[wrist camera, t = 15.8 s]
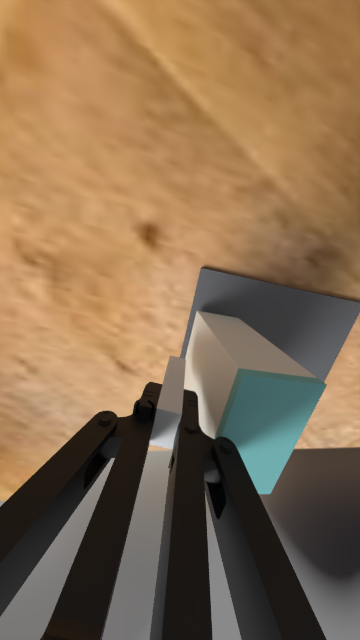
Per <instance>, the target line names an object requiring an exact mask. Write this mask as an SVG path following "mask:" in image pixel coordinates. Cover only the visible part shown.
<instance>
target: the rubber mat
mask: <svg viewBox="0 0 360 640" xmlns="http://www.w3.org/2000/svg"><path fill="white" fill-rule="evenodd" d="M197 311H202V312H208V313H213V314H219V315H225V316H230V317H236V318H239V319H240V320H242V321H243V322H244V323H246V324H247V325H248V326H250V327H251V328H252V329H254V330H255V331H256V332H258V333H259V334H260V335H262V336H263V337H264V338H265V339H267V340H268V341H269V342H271V343H272V344H273V345H275V346H276V347H277V348H279V349H280V350H281V351H283V352H284V353H285V354H287V355H288V356H289V357H290V358H292V359H293V360H294V361H296V362H297V363H298V364H300V365H301V366H302V367H304V368H305V369H306V370H308V371H309V372H310V373H312V374H313V375H314V376H315V377H317V378H318V379H319V380H321V381H322V382H323V383H324V381H325V379H326V377H327V375H328V373H329V371H330V369H331V367H332V365H333V363H334V361H335V359H336V357H337V356H338V354H339V352H340V350H341V348H342V346H343V344H344V342H345V340H346V338H347V336H348V334H349V332H350V330H351V328H352V326H353V324H354V322H355V320H356V318H357V316H358V314H359V313H360V303H359V302H354V301H350V300H345V299H341V298H336V297H331V296H327V295H322V294H318V293H313V292H309V291H304V290H300V289H295V288H290V287H286V286H281V285H277V284H272V283H268V282H263V281H259V280H254V279H249V278H245V277H240V276H236V275H231V274H227V273H222V272H218V271H213V270H208V269H204V268H201V271H200V275H199V279H198V283H197V288H196V292H195V296H194V300H193V305H192V309H191V313H190V317H189V322H188V326H187V330H186V334H185V339H184V343H183V347H182V352H181V356H180V358H183V359H185V357H186V353H187V349H188V345H189V341H190V336H191V332H192V328H193V324H194V320H195V316H196V312H197Z"/></svg>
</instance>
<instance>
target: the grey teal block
mask: <svg viewBox="0 0 360 640" xmlns="http://www.w3.org/2000/svg"><path fill="white" fill-rule="evenodd" d="M185 359H186V366H185V379H184V389H186V390H190V391H195V392H196V394H197V396H198V410H199V425H200V427H201V430H202V431H203V432H204V433H205V434H206V435H208V436H209V437H211V438H213V439H216V438H217V437H220V436H222V437H226V438H228V439H230V440H231V441H232V442H233V443H234V444H235V446H236V447H237V449H238V451H239V454H240V456H241V458H242V460H243V462H244V464H245V466H246V469H247V471H248V473H249V475H250V477H251V479H252V481H253V484H254V486H255V488H256V490H257V492H258V494H270V493H271V491H272V489H273V487H274V485H275V483H276V482H277V480H278V477H279V476H280V474H281V472H282V470H283V468H284V466H285V464H286V462H287V460H288V459H289V456H290V455H291V452H292V451H293V449H294V447H295V445H296V443H297V441H298V439H299V437H300V435H301V434H302V432H303V430H304V428H305V426H306V424H307V422H308V420H309V418H310V416H311V414H312V412H313V410H314V409H315V407H316V405H317V403H318V401H319V399H320V397H321V395H322V393H323V391H324V389H325V387H326V384H325V383H323V382H322V381H321V380H319V379H318V378H317V377H315V376H314V375H313V374H312V373H310V372H309V371H308V370H306V369H305V368H304V367H302V366H301V365H300V364H298V363H297V362H296V361H294V360H293V359H292V358H290V357H289V356H288V355H287V354H285V353H284V352H283V351H281V350H280V349H279V348H277V347H276V346H275V345H273V344H272V343H271V342H269V341H268V340H267V339H265V338H264V337H263V336H262V335H260V334H259V333H258V332H256V331H255V330H254V329H252V328H251V327H250V326H248V325H247V324H246V323H244V322H243V321H242V320H240V319H239V318H236V317H230V316H225V315H219V314H213V313H208V312H202V311H197V312H196V316H195V320H194V324H193V328H192V332H191V336H190V341H189V345H188V349H187V353H186V357H185ZM205 494H206V493H205Z"/></svg>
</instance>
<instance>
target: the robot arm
mask: <svg viewBox="0 0 360 640" xmlns="http://www.w3.org/2000/svg"><path fill="white" fill-rule="evenodd" d="M185 366H186V359H183V358H179V357H174V356H170V358H169V361H168V365H167V369H166V373H165V377H164V381H163V385H162V384H158V383H154V382H149V383H148V384H147V385H146V386H145V389H144V391H143V394H142V396H141V399H139V400H137V401H136V402H135V404H134V409H133V414H132V415H130V416H127V417H117V415H116V414H115V413H114V412H112V411H102V412H99V413H98V414H96V415H95V416H94V417H93V418H92V419H91V420H90V421H89V422H88V423H87V424H86V425H85V426H84V427H82V428H81V429H80V430H79V431H78V432H77V433H76V434H75V435H74V436H73V437H72V438H71V439H70V440H69V441H68V442H67V443H66V444H65V445H64V446H63V447H62V448H61V449H60V450H59V451H58V452H57V453H56V454H54V455H53V456H52V457H51V458H50V459H49V460H48V461H47V462H46V463H45V464H44V465H43V466H42V467H41V468H40V469H39V470H38V471H37V472H36V473H35V474H34V475H33V476H32V477H31V478H30V479H29V480H28V481H27V482H25V483H24V484H23V485H22V486H21V487H20V488H19V489H18V490H17V491H16V492H15V493H14V494H13V495H12V496H11V497H10V498H9V499H8V500H7V501H6V502H5V503H4V504H3V505H2V506H1V507H0V616H1V615H2V613H3V612H4V611H5V609H6V608H7V606H8V605H9V603H10V602H11V601H12V599H13V598H14V596H15V595H16V593H17V592H18V591H19V589H20V588H21V586H22V585H23V584H24V582H25V581H26V579H27V577H28V576H29V575H30V574H31V572H32V571H33V569H34V568H35V566H36V565H37V564H38V562H39V561H40V559H41V558H42V556H43V555H44V554H45V552H46V551H47V549H48V548H49V546H50V545H51V544H52V542H53V541H54V539H55V538H56V536H57V535H58V533H59V532H60V531H61V529H62V528H63V526H64V525H65V524H66V522H67V521H68V519H69V518H70V516H71V515H72V514H73V512H74V511H75V509H76V508H77V506H78V505H79V504H80V502H81V501H82V499H83V498H84V497H85V495H86V494H87V492H88V491H89V489H90V488H91V487H92V485H93V484H94V482H95V481H96V480H97V478H98V477H99V475H100V474H101V472H102V471H103V469H104V468H105V467H106V465H107V464H108V462H109V461H110V459H111V458H115V460H114V462H113V465H112V467H111V470H110V472H109V475H108V477H107V480H106V482H105V485H104V487H103V490H102V493H101V495H100V497H99V500H98V502H97V505H96V507H95V510H94V512H93V515H92V517H91V520H90V522H89V525H88V527H87V529H86V532H85V534H84V537H83V540H82V542H81V545H80V547H79V549H78V552H77V555H76V557H75V559H74V562H73V564H72V567H71V569H70V572H69V574H68V577H67V579H66V582H65V585H64V587H63V589H62V592H61V594H60V597H59V599H58V602H57V604H56V607H55V609H54V612H53V614H52V617H51V619H50V621H49V624H48V626H47V628H46V630H45V632H44V634H43V636H42V638H41V639H40V640H102V637H103V633H104V628H105V624H106V620H107V616H108V612H109V608H110V604H111V600H112V595H113V591H114V587H115V583H116V579H117V575H118V571H119V566H120V563H121V558H122V554H123V550H124V546H125V542H126V538H127V534H128V529H129V525H130V521H131V517H132V513H133V509H134V504H135V500H136V496H137V492H138V488H139V484H140V480H141V476H142V472H143V467H144V463H145V459H146V455H147V451H148V447H149V444H151V445H155V446H159V447H164V448H168V449H173V452H172V456H171V460H170V463H169V467H168V468H170V470H169V479H168V487H167V495H166V504H165V513H164V521H163V530H162V538H161V547H160V555H159V564H158V572H157V581H156V589H155V598H154V607H153V616H152V624H151V632H150V640H212V623H211V602H210V584H209V563H208V543H207V525H206V524H207V523H206V504H205V493H206V496H207V501H208V505H209V508H210V513H211V517H212V521H213V525H214V529H215V533H216V537H217V541H218V545H219V550H220V553H221V558H222V562H223V566H224V570H225V574H226V578H227V582H228V586H229V590H230V594H231V598H232V602H233V606H234V610H235V614H236V618H237V622H238V626H239V630H240V635H241V639H242V640H326V638H325V636H324V633H323V631H322V629H321V627H320V625H319V623H318V621H317V618H316V616H315V614H314V612H313V610H312V608H311V606H310V604H309V601H308V599H307V597H306V595H305V593H304V591H303V588H302V586H301V584H300V582H299V580H298V578H297V576H296V573H295V571H294V569H293V567H292V565H291V563H290V561H289V558H288V556H287V554H286V552H285V550H284V548H283V546H282V543H281V541H280V539H279V537H278V535H277V533H276V531H275V529H274V526H273V525H272V522H271V520H270V518H269V516H268V513H267V511H266V509H265V507H264V505H263V503H262V501H261V498H260V496H259V494H258V492H257V490H256V488H255V486H254V484H253V481H252V479H251V477H250V475H249V473H248V471H247V469H246V466H245V464H244V462H243V460H242V458H241V456H240V454H239V451H238V449H237V447H236V446H235V444H234V443H233V442H232V441H231V440H230V439H228V438H226V437H222V436H220V437H217V438H216V439H213V438H211V437H209V436H208V435H206V434H205V433H204V432H203V431H202V430H201V427H200V425H199V410H198V396H197V394H196V392H195V391H190V390H186V389H184V379H185Z"/></svg>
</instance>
